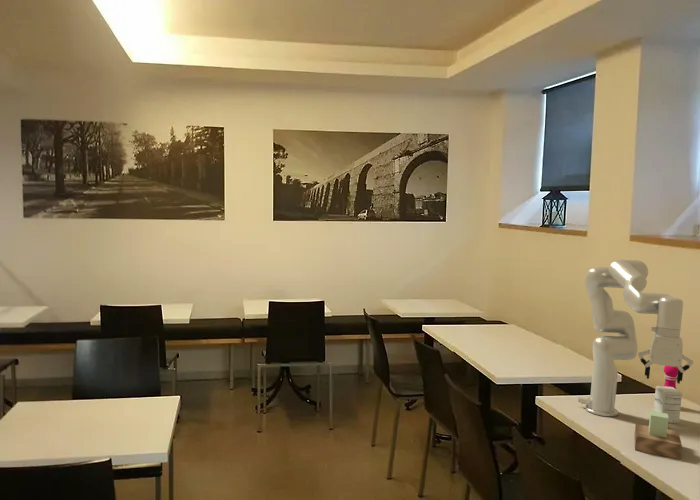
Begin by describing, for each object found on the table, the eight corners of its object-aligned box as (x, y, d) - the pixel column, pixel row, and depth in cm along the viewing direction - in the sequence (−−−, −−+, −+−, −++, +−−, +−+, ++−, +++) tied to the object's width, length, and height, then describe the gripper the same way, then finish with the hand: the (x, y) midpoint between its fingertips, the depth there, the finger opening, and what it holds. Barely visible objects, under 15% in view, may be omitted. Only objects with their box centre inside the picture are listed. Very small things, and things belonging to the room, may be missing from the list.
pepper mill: (680, 409, 261) (685, 363, 259) (663, 408, 261) (668, 362, 259) (672, 403, 268) (676, 359, 267) (655, 402, 268) (660, 358, 267)
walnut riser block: (634, 450, 213) (636, 436, 212) (634, 436, 226) (635, 423, 225) (680, 459, 207) (681, 444, 207) (676, 444, 220) (678, 431, 220)
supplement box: (652, 415, 251) (655, 385, 250) (670, 416, 251) (673, 386, 250) (660, 422, 244) (663, 391, 243) (679, 423, 243) (682, 392, 242)
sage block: (649, 434, 215) (651, 415, 214) (648, 429, 220) (650, 410, 219) (666, 437, 212) (668, 418, 212) (665, 432, 217) (667, 413, 217)
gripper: (640, 330, 214) (636, 378, 215) (697, 338, 207) (691, 387, 208) (640, 327, 220) (635, 373, 222) (694, 334, 213) (689, 381, 215)
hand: (662, 380), depth 215 cm, fingers open, 9 cm apart
